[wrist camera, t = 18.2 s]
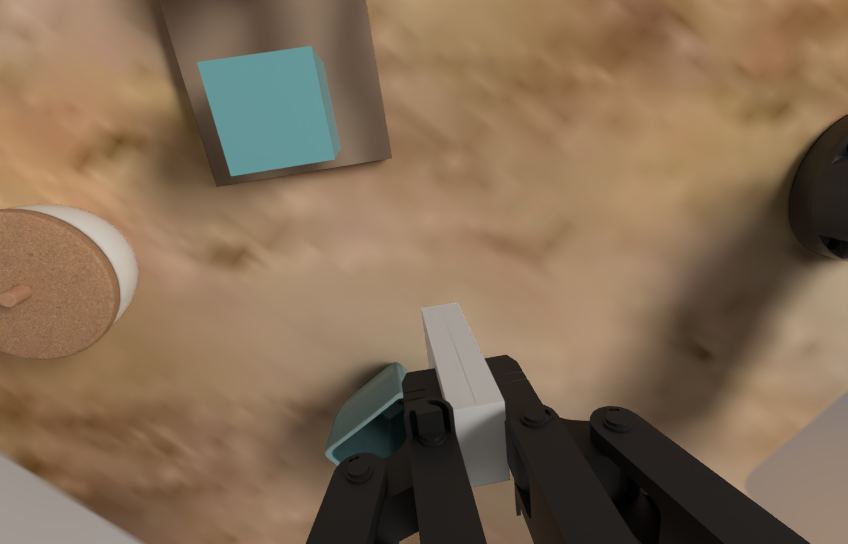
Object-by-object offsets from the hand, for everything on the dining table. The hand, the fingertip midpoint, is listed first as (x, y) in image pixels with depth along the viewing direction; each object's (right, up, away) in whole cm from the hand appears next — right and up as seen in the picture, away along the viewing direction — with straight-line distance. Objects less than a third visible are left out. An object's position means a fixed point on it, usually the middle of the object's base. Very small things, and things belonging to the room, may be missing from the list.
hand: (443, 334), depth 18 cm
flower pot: (-4, -9, +27) cm, 29 cm away
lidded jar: (-29, +4, +19) cm, 34 cm away
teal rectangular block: (-11, +15, +16) cm, 24 cm away
